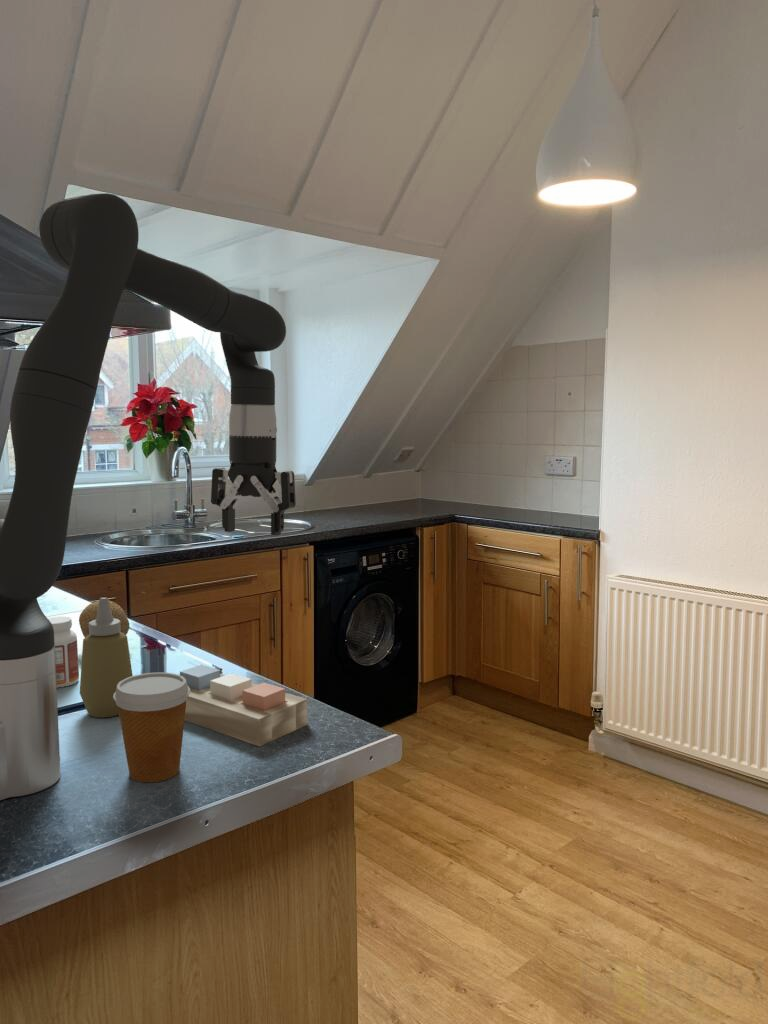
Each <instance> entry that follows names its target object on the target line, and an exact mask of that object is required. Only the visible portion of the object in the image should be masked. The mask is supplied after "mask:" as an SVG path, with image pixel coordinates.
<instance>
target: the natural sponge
mask: <svg viewBox="0 0 768 1024" xmlns="http://www.w3.org/2000/svg"><path fill="white" fill-rule="evenodd" d="M108 601H109V605H110V608H111V612H112V616H113V618H115V619H119V620H120V625H121V631H120V632H122V633H124V634H125V635H126V636H127V634H128V633H129V630H130V621H129V618H128V617H127V615H126V612H125V611H124V609H123V607H121V606H120V605H119V604H118V603H116V602H115V601H111V600H109V599H108ZM98 606H99V600H97V601H94V602H92V603H89V604H88V605H87V606H85V608H84V609H83V610H82V611H81V612H80V614H79V617H78V622H79V623H78V624H79V627H80V630H81V634H82V635H83V637H84V638H85V637H86V636H88V635H89V622H91V621H93V620H96V616H97V611H98Z"/></svg>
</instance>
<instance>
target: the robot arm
mask: <svg viewBox="0 0 768 1024" xmlns="http://www.w3.org/2000/svg"><path fill="white" fill-rule="evenodd" d="M38 229H39V230H38V231H39V238H40V242H41V244H42V246H43V248H44V250H45V252H46V253H47V255H48V256H49V257H50V258H51V259H52V260H53V261H54V262H55V263H56V264H58V265H59V266H60V267H62V268H64V269H66V270H68V272H67V277H66V281H65V283H64V288H63V289H62V292H61V295H60V297H59V298H58V300H57V302H56V304H55V306H54V307H53V308H52V310H51V312H50V313H49V315H48V316H47V318H46V319H45V321H44V322H43V323H42V325H41V326H40V327H39V329H38V330H37V332H36V334H35V335H34V336H33V338H32V339H31V342H30V343H29V345H28V346H27V348H26V350H25V352H24V354H23V356H22V360H21V363H20V366H19V368H18V372H17V374H16V375H17V376H16V380H15V384H14V387H13V393H12V397H11V402H10V410H9V424H10V434H11V441H12V448H13V449H12V450H13V455H14V469H15V470H14V473H15V474H14V484H13V489H12V492H11V496H10V499H9V500H10V501H9V503H8V508H7V512H6V514H5V517H4V518H0V801H2V800H5V799H8V798H15V797H23V796H28V795H31V794H35V793H39V792H41V791H43V790H46V789H48V788H49V787H52V786H53V785H55V784H56V783H57V782H58V781H59V779H61V755H60V753H61V752H60V733H59V732H60V731H59V715H58V714H59V712H58V710H59V709H58V690H57V689H58V688H57V686H56V663H55V643H54V629H53V626H52V624H51V622H50V621H49V620H48V619H47V618H48V617H47V616H46V614H45V613H44V612H43V610H42V609H41V606H40V604H39V601H38V598H40V597H42V596H43V595H44V594H45V593H47V592H48V591H49V590H50V589H51V588H52V587H53V585H54V584H55V583H56V581H57V579H58V578H59V575H60V573H61V570H62V566H63V564H64V562H63V561H64V557H65V553H66V552H65V551H66V543H67V535H68V528H69V521H70V520H69V519H70V510H71V503H72V496H73V493H74V492H73V490H74V485H75V482H76V477H77V474H78V470H79V464H80V460H81V457H82V451H83V446H84V442H85V436H86V433H87V429H88V427H89V423H90V419H91V415H92V412H93V408H94V404H95V398H96V396H97V395H96V394H97V390H98V387H99V386H98V385H99V380H100V376H101V375H100V374H101V370H102V365H103V362H104V358H105V356H106V350H107V347H108V343H109V341H110V340H109V339H110V335H111V331H112V327H113V324H114V319H115V316H116V313H117V309H118V306H119V303H120V301H121V298H122V295H123V292H124V290H126V291H128V292H130V293H133V294H136V295H137V296H140V297H143V298H145V299H147V300H149V301H151V302H154V303H155V304H158V305H159V306H162V307H163V308H165V309H168V310H169V311H172V312H174V313H175V314H177V315H179V316H181V317H182V318H184V319H186V320H188V321H190V322H191V323H194V324H196V325H197V326H199V327H200V328H203V329H205V330H207V331H210V332H213V333H219V337H220V345H221V347H222V351H223V355H224V359H225V363H226V367H227V371H228V374H229V378H230V408H229V409H230V410H229V411H230V412H229V417H228V418H229V419H228V427H229V428H228V440H229V441H228V451H229V454H228V455H229V457H228V459H229V463H230V465H229V469H227V468H225V467H217V468H216V467H215V468H213V469H212V470H211V471H212V472H211V475H212V476H211V489H210V490H211V492H210V503H211V504H212V505H216V506H217V507H220V509H221V526H222V528H223V529H224V532H225V533H231V532H234V531H235V530H236V508H234V507H235V506H236V504H237V503H238V501H239V499H241V498H242V497H249V496H251V497H255V498H262V499H263V501H265V502H266V503H267V504H268V506H269V507H270V509H271V511H272V512H271V513H270V535H271V536H275V537H277V536H280V535H281V534H282V532H284V529H285V525H284V524H285V512H286V511H287V510H290V509H293V508H295V507H296V486H295V485H296V483H295V473H294V471H293V470H285V471H277V467H276V464H277V432H278V427H277V415H276V406H275V405H276V379H275V375H274V372H273V371H272V370H270V369H268V368H265V367H262V366H260V365H259V363H258V361H257V357H256V353H259V352H260V353H262V352H270V351H274V350H276V349H278V348H280V346H282V344H283V342H284V341H285V339H286V335H287V327H286V323H285V320H284V318H283V316H282V315H281V313H280V312H279V311H278V310H277V309H276V308H275V307H274V306H272V305H270V304H269V303H267V302H264V301H262V300H260V299H257V298H255V297H252V296H249V295H246V294H243V293H240V292H237V291H234V290H231V289H229V287H227V286H226V285H224V284H223V283H220V281H218V280H216V279H214V278H213V277H211V276H209V275H208V274H206V273H204V272H203V271H201V270H199V269H196V268H193V267H192V266H189V265H186V264H183V263H180V262H178V261H175V260H173V259H169V258H165V257H162V256H159V255H156V254H154V253H151V252H148V251H146V250H144V249H142V248H139V247H138V246H139V239H140V238H139V224H138V221H137V218H136V215H135V212H134V210H133V208H132V207H131V205H129V203H128V202H127V201H126V200H125V199H124V198H123V197H121V196H120V195H117V194H114V193H110V192H96V193H95V192H93V193H87V194H83V195H77V196H73V197H68V198H65V199H61V200H58V201H56V202H54V203H52V204H50V206H49V207H47V208H46V209H45V210H44V212H43V214H42V216H41V218H40V221H39V227H38ZM229 480H230V482H231V484H232V485H231V486H230V487H229V489H228V490H227V492H226V488H227V486H226V484H227V483H226V482H227V481H229ZM277 480H278V483H279V485H280V488H281V489H280V490H281V492H280V493H281V494H280V493H279V491H278V490H277V488H276V487H275V483H276V481H277ZM280 495H281V497H280Z"/></svg>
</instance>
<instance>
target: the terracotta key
mask: <svg viewBox="0 0 768 1024" xmlns="http://www.w3.org/2000/svg"><path fill="white" fill-rule="evenodd" d="M285 693H286V688H285V687H281V686H277V685H273V684H271V683H270V684H269V683H267V682H261V683H259V684H257V685H256V686H253V687H250V688H248V689H245V690H242V695H243V705H245V706H248V707H252V708H255V709H258V710H261V711H266V710H269V709H271V708H274V707H276V706H279V705H281V704H284V703H285Z"/></svg>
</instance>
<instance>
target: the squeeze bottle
mask: <svg viewBox="0 0 768 1024" xmlns="http://www.w3.org/2000/svg"><path fill="white" fill-rule="evenodd" d="M108 600H109V599H108V597H99V600H98V601H99V606H98V611H97V616H96V620H93V621H91V622H89V635H88V636H86V637H84V638H83V639H82V652H81V663H80V665H81V667H80V678H79V679H80V680H79V681H80V683H79V695H80V699H81V700H82V702H83V704H84V707H85V710H86V712H87V714H88V715H89V716H91V717H94V718H111V717H117V716H119V711H118V706H117V705H116V702H115V700H114V699H113V695H114V693H115V692H116V688H117V685H118V683H119V682H120V681H122V680H124V679H126V678H128V677H131V676H134V674H133V668H132V661H131V655H130V654H131V653H130V647H129V639H128V636H127V635H125V634H124V633H122V632H120V631H121V625H120V620H119V619H115V618H113V616H112V612H111V608H110V605H109V601H110V600H109V601H108Z"/></svg>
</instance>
